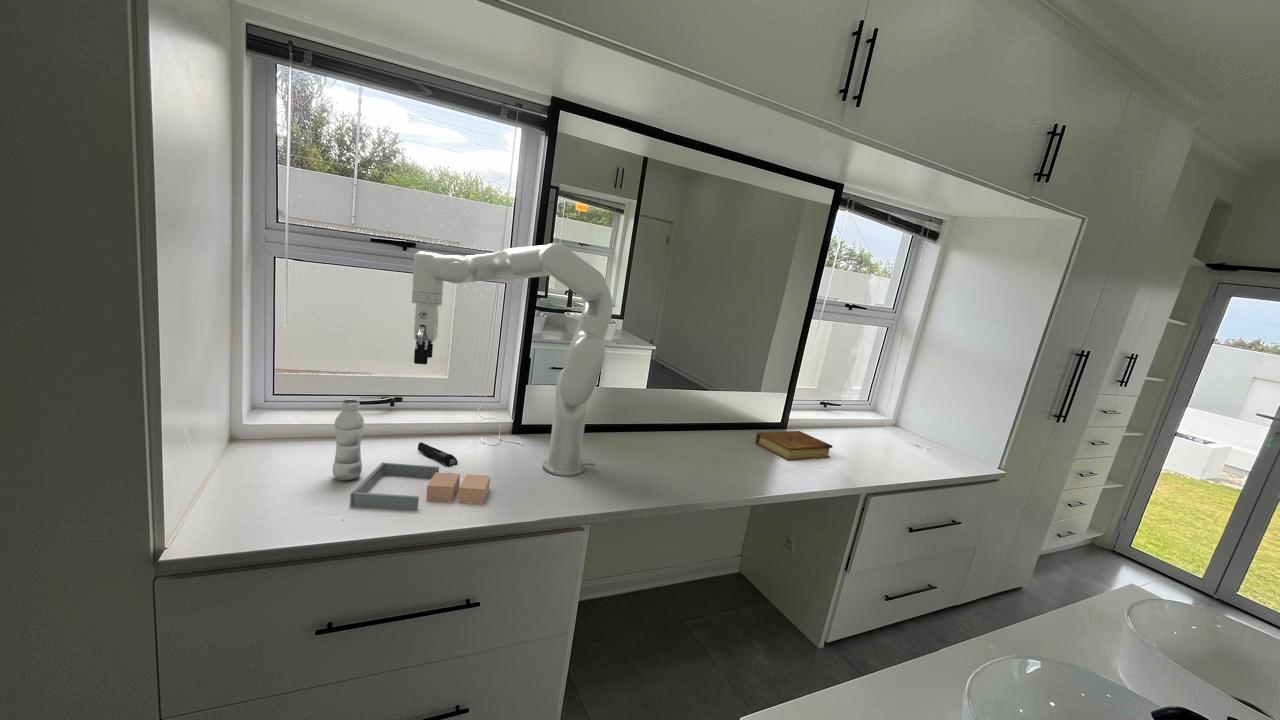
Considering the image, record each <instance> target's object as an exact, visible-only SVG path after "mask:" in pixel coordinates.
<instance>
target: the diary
mask: <svg viewBox="0 0 1280 720" xmlns="http://www.w3.org/2000/svg"><path fill="white" fill-rule="evenodd" d="M754 443H755V444H756V445H757V446H759V447H761V448H762V449H764V450H766V451H768V452H770V453H772V454H774V455H776V456H777V457H779V458H782V459H783V460H785V461H787V462H794V461H795V462H796V461H805V460H806V461H807V460H820V459H831V456H829V453H830V449H833V445H832V444H830V443H827V442H825V441H823V440H821V439H818V438H816V437H813V436H812V435H809V434H807V433H806V432H802V431H801V430H791V431H790V430H786V431H783V430H782V431H762V432H761V431H760V432H757V433H756V435H755V441H754Z"/></svg>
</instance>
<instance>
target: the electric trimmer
mask: <svg viewBox="0 0 1280 720" xmlns="http://www.w3.org/2000/svg"><path fill="white" fill-rule="evenodd" d="M417 450H418V451H419V452H420V453H421V454H423V455H425V456H426V457H427V458H429V459H435V460H436V461H439V462H440V463H443V464H444V466H445V467H446V466H448V467H447V468H451V467H454V466H453V465H455V466H457V465H458V460H457V458H456V457H455V456H454V455H453V454H452V453H451V454H450V453H447V452H445V451H443V450H440V449H438V448H435V447H433V446H431V445H428V444H427V443H424V442H423V441H421V442H419V443H418V445H417ZM450 466H451V467H450Z"/></svg>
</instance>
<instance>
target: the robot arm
mask: <svg viewBox="0 0 1280 720" xmlns="http://www.w3.org/2000/svg"><path fill="white" fill-rule="evenodd" d="M540 277H553V279H555V280H557V281H558V282H560V284H562V285H563V286H565V287H567V288H568V289H569V290H570V291H572V292H573V293H575V294H576V295H578V296H579V297H580V298H581V299H582V302H583V304H582V305H583V306H582V310H581V314H580V318H579V322H578V324H577V327H576V330H575V333H574V334H573V338H572V339H571V342H570V344H569V355H568V359H567V362H566V364H565V367H563V368H562V369H561V370H560V372H559V373H558V375H557V378H556V385H555V397H554V409H553V416H552V417H553V418H552V426H551V433H550V445H549V451H548V452H549V453H548V458H546V459H544V461H543V462H542V468H543V470H544V471H546V472H547V473H549V474H552V475H556V476H560V477H561V476H564V477H572V476H577V475H580V474H581V473H582V474H583V472H584V471H585V467H586V466H589V467H596V459H592V457H591V456H583V452H582V450H583V440H584V433H585V425H586V419H587V418H586V417H587V409H588V401H589V400H590V399H591V396H592V394H593V392H594V390H595V387H596V385H597V382H598V379H599V377H600V373H601V371H602V368H603V365H604V363H605V356H606V349H605V345H604V341H605V338H606V334H607V332H608V328H609V325H610V322H611V318H612V315H613V308H614V307H613V306H614V304H613V303H614V302H613V298H612V293H611V290H610V288H609V286H608V284H607V282H606V278H605V276H604V275H603V273H602V272H600V271H599V270H598V269H596V268H595V267H593V266H592V265H591V264H589V263H588V262H587V261H586V260H584V259H583V258H581V257H580V256H579V255H578V254H576V253H575V252H574V251H572V250H571V249H570V248H568V247H567V246H565V245H564V244H563V243H560V242H559V243H558V242H552V243H548V244H542V245H541V244H540V245H531V246H530V245H529V246H520V247H509V248H505V249H503V250H500V251H496V252H490V253H484V254H483V253H481V254H474V255H473V254H471V255H458V254H456V255H455V254H454V255H449V254H446V255H445V254H440V253H436V252H429V251H422V250H421V251H420V250H419V251H417V252H416V253H415V254H414V257H413V274H412V289H411V290H412V293H411V303H412V304H415V312H414V314H415V315H414V326H413V327H414V330H413V336H414V337H413V338H414V340H415V347H414V355H413V356H414V357H413V364H414V365H427V364H428V359H431V358H433V348H434V344H433V343H434V342H435V341H436V339H437V338H438V329H439V328H438V327H439V307H440V306H441V307H442V306H443V290H444V282H447V283H451V284H456V285H461V284H466V283H475V282H485V281H492V280H494V281H495V280H507V281H512V280H521V279H522V280H523V279H530V278H540Z"/></svg>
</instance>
